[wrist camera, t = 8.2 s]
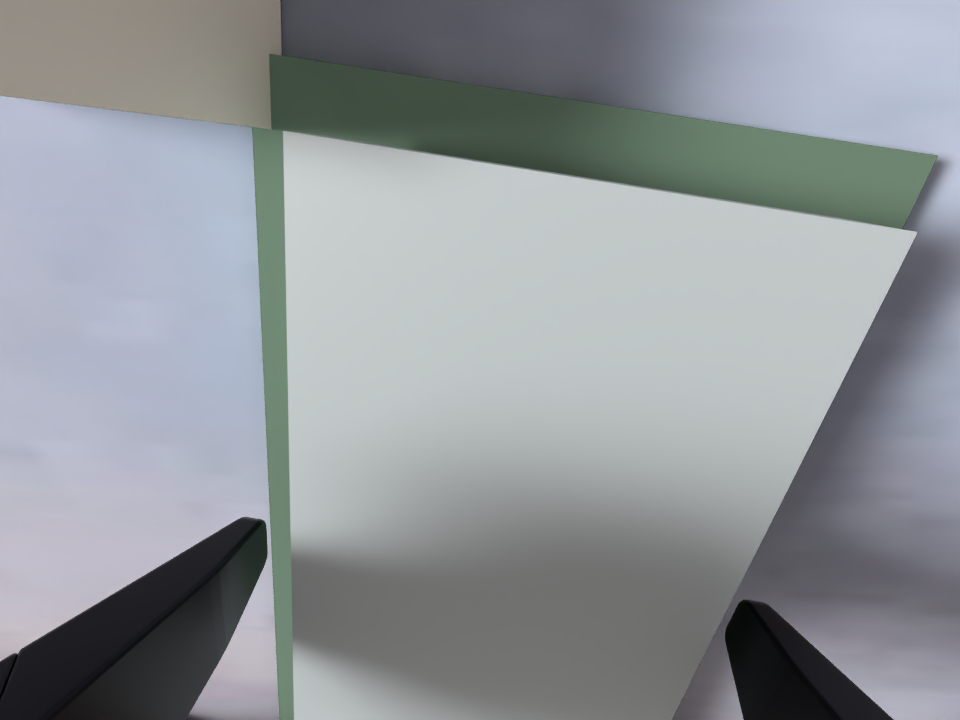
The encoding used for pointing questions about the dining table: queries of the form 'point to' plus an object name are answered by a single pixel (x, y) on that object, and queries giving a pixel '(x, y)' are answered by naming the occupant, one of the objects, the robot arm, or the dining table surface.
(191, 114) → the pencil box
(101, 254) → the dining table surface
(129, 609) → the robot arm
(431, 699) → the lid
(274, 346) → the felt mat
